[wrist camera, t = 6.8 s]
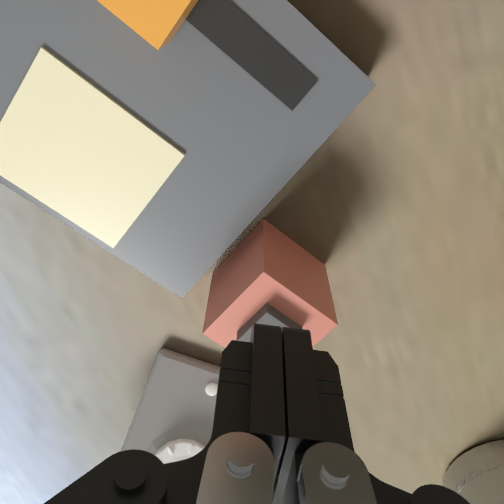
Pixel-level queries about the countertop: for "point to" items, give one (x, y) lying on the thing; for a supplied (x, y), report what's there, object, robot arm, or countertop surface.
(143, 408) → the light switch
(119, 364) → the countertop surface
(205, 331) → the pink square block
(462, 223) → the countertop surface
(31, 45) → the panel
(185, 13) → the orange rectangular prism
